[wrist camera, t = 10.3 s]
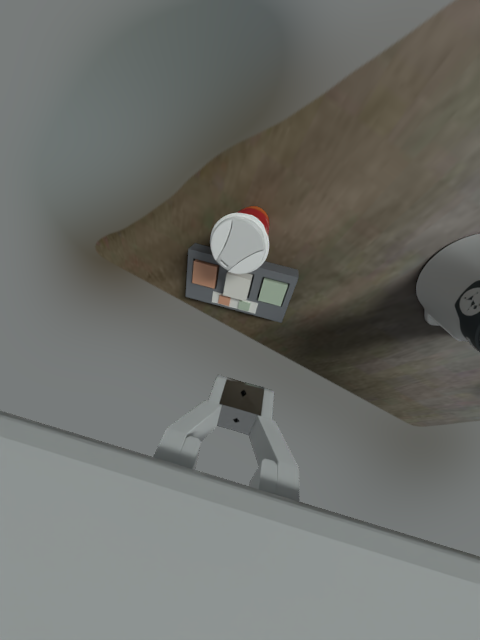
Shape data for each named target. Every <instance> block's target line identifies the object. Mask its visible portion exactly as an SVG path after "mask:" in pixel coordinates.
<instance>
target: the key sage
mask: <svg viewBox="0 0 480 640" xmlns="http://www.w3.org/2000/svg"><path fill="white" fill-rule="evenodd" d="M287 287H288V283H285V282H281V281H277V280H274V279H270V278H266V277H264V280H263V284H262V287H261V291H260V294H259V298H258V301H262V302H266V303H270V304H273V305H277V306H281V304H282V301H283V298H284V295H285V293H286V290H287Z"/></svg>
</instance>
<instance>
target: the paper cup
mask: <svg viewBox="0 0 480 640" xmlns="http://www.w3.org/2000/svg"><path fill="white" fill-rule="evenodd" d="M268 233H269V218H268V216H267V214H266V212H265V211H264V210H263V209H261V208H259V207H256V206H250V207H247V208H244V209H242V210H240V211H239V212H237V213H232V214H229V215H226V216H224V217H223V218H221V219H220V220H219V221H218V222H217V223H216V224H215V226H214V228H213V230H212V232H211V236H210V247H211V251H212V254H213V257H214V259H215V260H216V261H217V262H218V263H219V264H220V265H221V266H222V267H223V268H224V269H226V270H228V272H231V273H234V274H246V273H250V272H252V271H254V270H256V269H258V268H259V267H260V266H261V265H262V264H263V263H264V261H265V259H266V257H267V255H268V251H269V239H268Z"/></svg>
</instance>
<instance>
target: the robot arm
mask: <svg viewBox="0 0 480 640" xmlns="http://www.w3.org/2000/svg"><path fill="white" fill-rule="evenodd" d="M416 294H417V297H418V300H419V302H420V303H421V304H422V306H423V307H424V310H425V311H424V316H425V320H426V322H428V323H429V324H430V325H435V326H441V327H442V328H444V329H445V330H446V331H447V332H448V333H449V334H450V335H451V336H453V337H454V338H455V339H456V340H458V341H467V342H469V343H470V344H471V345H472V346H473V347H474V348H475V349H476V350H477V351H479V352H480V233H479V234H476V235H472V236H469V237H466V238H463V239H461V240H458V241H456V242H454V243H452V244H450V245H449V246H447V247H445V248H444V249H443V250H441V251H440V252H438V253H437V254H436V255H435V256H434V257H433V258H432V259H431V260H430V261H429V262H428V263H427V264H426V265H425V267H424V268H423V270H422V271H421V273H420V275H419V278H418V280H417V284H416ZM273 402H274V391H273V390H270V389H267V388H263V387H260V386H256V385H253V384H249V383H246V382H245V383H244V382H241V381H238V380H235V379H231V378H228V377H225V376H222V375H217V377H216V379H215V382H214V385H213V388H212V391H211V393H210V396H209V399H208V401H206V400H205V401H203V402H202V403H201V404H199V405H198V406H196V407H195V408H194V409H192V410H191V411H190V412H188V413H187V414H186V415H184V416H183V417H182V418H180V419H179V420H178V421H176V422H175V423H173V424H172V425H171V426H169V427H168V428H167V429H166V432H165V433H164V436H163V438H162V440H161V442H160V444H159V446H158V448H157V450H156V452H155V454H154V456H153V457H151V456H148V455H144V454H141V453H138V452H135V451H131V450H128V449H125V448H121V447H118V446H114V445H111V444H108V443H105V442H102V441H98V440H95V439H92V438H89V437H85V436H82V435H79V434H75V433H72V432H69V431H65V430H62V429H59V428H56V427H52V426H49V425H45V424H42V423H39V422H35V421H32V420H29V419H26V418H23V417H19V416H16V415H13V414H9V413H6V412H3V411H0V640H480V557H479V556H476V555H473V554H469V553H466V552H463V551H460V550H456V549H453V548H450V547H446V546H443V545H440V544H436V543H433V542H430V541H427V540H423V539H420V538H417V537H413V536H410V535H407V534H404V533H400V532H397V531H394V530H391V529H387V528H384V527H381V526H377V525H374V524H371V523H368V522H364V521H361V520H358V519H354V518H351V517H348V516H345V515H341V514H338V513H335V512H331V511H328V510H325V509H322V508H318V507H315V506H312V505H309V504H305V503H302V502H299V467H298V465H297V464H296V461H295V459H294V457H293V455H292V453H291V451H290V449H289V447H288V445H287V443H286V442H285V440H284V438H283V435H282V434H281V432H280V430H279V428H278V426H277V424H276V422H275V421H274V420H272V414H273ZM217 426H219V427H223V428H227V429H231V430H234V431H237V432H240V433H244V434H246V435H249V438H250V441H251V444H252V447H253V450H254V453H255V457H256V460H257V463H258V466H259V467H258V469H257V470H256V472H255V474H254V476H253V477H252V479H251V481H250V484H249V486H246V485H242V484H239V483H236V482H233V481H230V480H227V479H223V478H220V477H217V476H213V475H210V474H207V473H203V472H200V471H197V470H195V468H196V464H197V459H198V454H199V449H200V444H201V441H202V440H203V439H204V438H205V437H207V436H208V435H209V434H210V433H211V432H212V431H213V430H214V429H215V428H216V427H217Z"/></svg>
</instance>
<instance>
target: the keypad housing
mask: <svg viewBox="0 0 480 640" xmlns="http://www.w3.org/2000/svg"><path fill="white" fill-rule="evenodd" d="M195 259H197V260H201V261H205V262H209V263H213V264H217V265H220V264H219V263H218V262H217V261H216V260H215V259H214V257H213V254H212V251H211V247H208V246H204V245H200V244H196V243H195V244H194V245H193V246H191V247H190V248H189V249H188V264H187V281H186V297H188V298H192V299H196V300H199V301H203V302H207V303H211V304H214V305H218V306H222V307H225V308H229V309H233V310H236V311H240V312H244V313H247V314H251V315H255V316H259V317H262V318H266V319H270V320H273V321H277V322H281V323H282V320H283V317H284V315H285V312H286V309H287V307H288V304H289V301H290V299H291V296H292V293H293V291H294V288H295V285H296V283H297V280H298V270H296V269H292V268H289V267H285V266H281V265H277V264H273V263H269V262H265V261H264V263H263V264H262V265H261V266H260V267H259V268H258V269H256V270H254V271H252V272H250V273H249V274H253V277H252V281H251V285H250V289H249V293H248V297H247V300H246V301H243V300H239V299H235V298H232V297H228V296H224V295H223V292H224V286H225V280H226V274H227V272H228V270H226V269H224V268H223V267H222V266H221V265H220V267H219V274H218V280H217V285H216V287H215V288H214V289H213V288H210V287H206V286H202V285H198V284H195V283H192V278H193V265H194V260H195ZM264 277H266V278H270V279H274V280H277V281H281V282H285V283H288V287H287V290H286V293H285V295H284V298H283V301H282V304H281V306H277V305H273V304H270V303H266V302H262V301H258V298H259V294H260V291H261V287H262V284H263V280H264Z"/></svg>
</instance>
